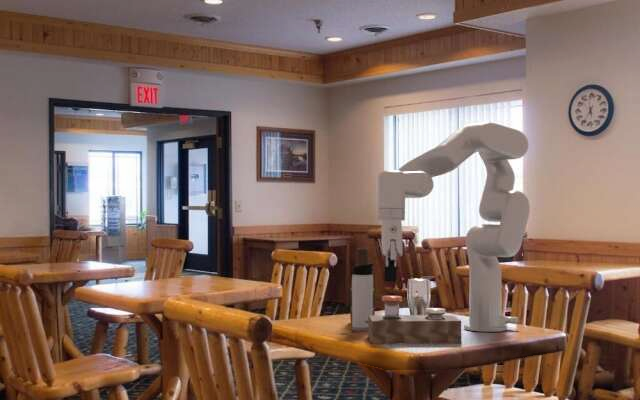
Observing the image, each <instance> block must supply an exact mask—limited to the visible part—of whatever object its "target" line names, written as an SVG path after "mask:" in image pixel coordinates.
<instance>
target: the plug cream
mask: <svg viewBox="0 0 640 400" xmlns="http://www.w3.org/2000/svg"><path fill="white" fill-rule="evenodd" d="M425 314H428V319H442V315H446V308H440V307H429V308H427V309H425Z"/></svg>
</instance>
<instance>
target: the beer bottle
mask: <svg viewBox="0 0 640 400" xmlns="http://www.w3.org/2000/svg"><path fill="white" fill-rule="evenodd" d="M368 252H369V249H368V248H367V247H358V248H356V253H357V255H356V266H358V265H366V264H369V256H368ZM375 289H376V288H375V282H374V280H373V315H376V314H375V312H376V311H375V310H376V309H375V297H376V296H375V295H376V294H375ZM349 292H350V296H349V298H350V299H349V302H350V309H349V310H350V311H349V312H350V323H351V324H352V280H351V281H350V291H349Z"/></svg>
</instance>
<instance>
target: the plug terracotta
mask: <svg viewBox="0 0 640 400" xmlns="http://www.w3.org/2000/svg"><path fill="white" fill-rule="evenodd" d="M381 302H384V315H385V319H399V315H400V303H401V302H403V296H401V295H381Z"/></svg>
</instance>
